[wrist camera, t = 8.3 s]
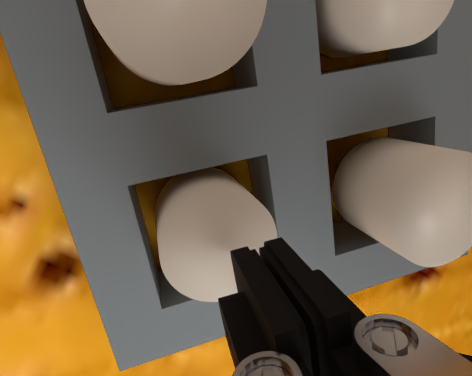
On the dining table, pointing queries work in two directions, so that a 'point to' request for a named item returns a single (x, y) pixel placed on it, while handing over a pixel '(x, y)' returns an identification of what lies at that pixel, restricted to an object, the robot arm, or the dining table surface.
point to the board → (224, 150)
